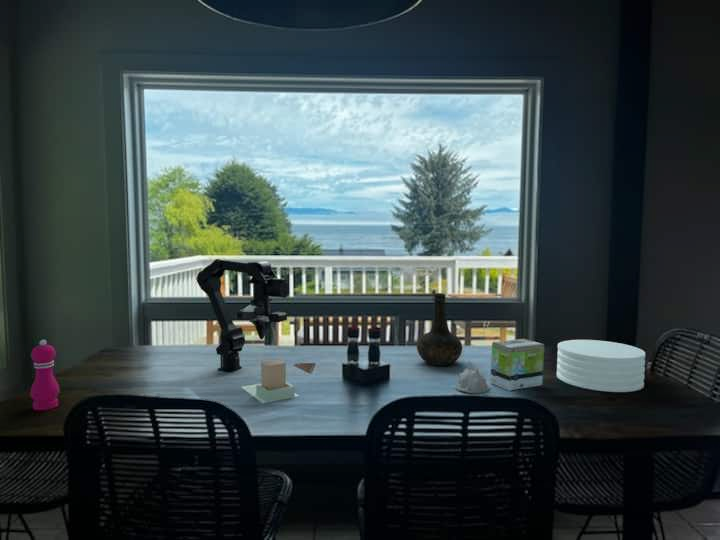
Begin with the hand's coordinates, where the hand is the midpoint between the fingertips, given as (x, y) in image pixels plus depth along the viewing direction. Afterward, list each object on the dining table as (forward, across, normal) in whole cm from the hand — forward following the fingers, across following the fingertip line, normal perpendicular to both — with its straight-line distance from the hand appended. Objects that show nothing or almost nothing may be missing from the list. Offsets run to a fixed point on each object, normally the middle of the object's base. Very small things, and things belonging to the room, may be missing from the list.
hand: (261, 339), depth 179 cm
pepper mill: (+13, -36, -56) cm, 68 cm away
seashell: (+14, +72, +19) cm, 76 cm away
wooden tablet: (+14, +10, +8) cm, 19 cm away
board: (+13, +17, -18) cm, 28 cm away
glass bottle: (+13, +53, +45) cm, 71 cm away
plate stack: (+14, +110, +50) cm, 122 cm away
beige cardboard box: (+12, +20, -20) cm, 30 cm away
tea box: (+14, +85, +30) cm, 91 cm away
